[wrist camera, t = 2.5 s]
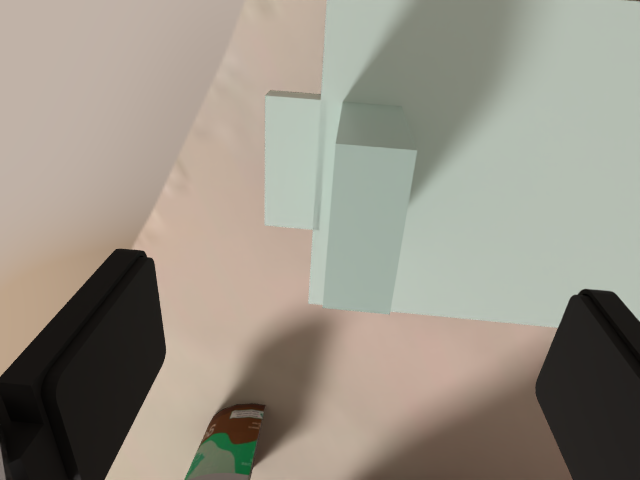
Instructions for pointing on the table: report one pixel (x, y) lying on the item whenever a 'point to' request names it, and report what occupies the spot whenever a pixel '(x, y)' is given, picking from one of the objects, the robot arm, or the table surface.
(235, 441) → the food container
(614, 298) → the robot arm
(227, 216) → the table surface
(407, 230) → the lid
